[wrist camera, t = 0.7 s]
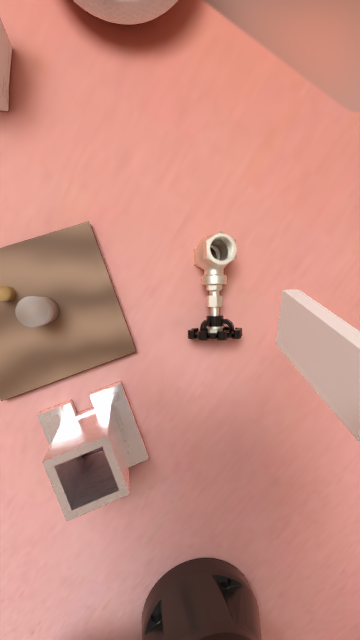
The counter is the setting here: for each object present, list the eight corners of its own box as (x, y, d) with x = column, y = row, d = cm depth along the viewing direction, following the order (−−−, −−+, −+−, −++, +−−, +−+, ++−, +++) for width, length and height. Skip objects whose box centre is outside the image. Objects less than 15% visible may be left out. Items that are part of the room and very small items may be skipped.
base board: (135, 349, 42) (138, 359, 35) (5, 397, 40) (-21, 418, 33) (90, 224, 41) (83, 206, 33) (-49, 266, 38) (-89, 257, 31)
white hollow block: (147, 453, 43) (157, 504, 32) (70, 486, 42) (53, 550, 31) (120, 380, 42) (120, 407, 31) (40, 411, 41) (11, 450, 30)
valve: (180, 240, 43) (183, 335, 43) (191, 229, 36) (194, 341, 37) (231, 240, 44) (233, 333, 44) (250, 229, 37) (252, 338, 38)
